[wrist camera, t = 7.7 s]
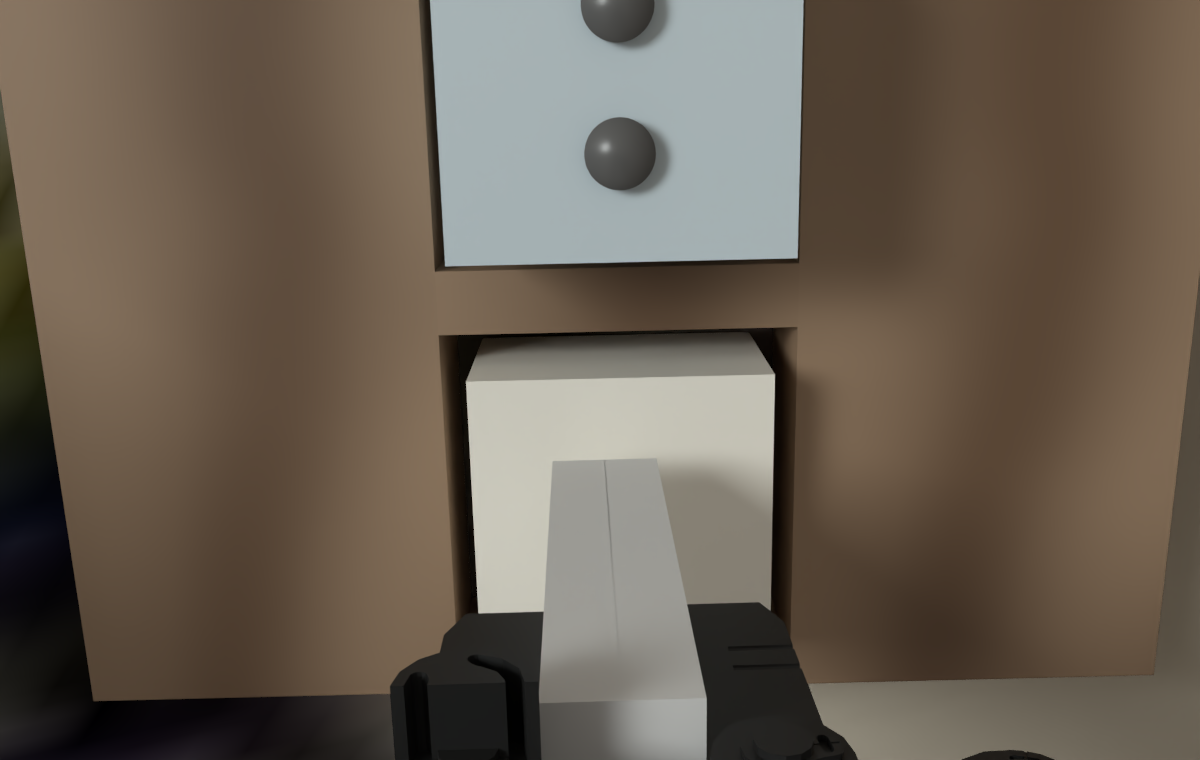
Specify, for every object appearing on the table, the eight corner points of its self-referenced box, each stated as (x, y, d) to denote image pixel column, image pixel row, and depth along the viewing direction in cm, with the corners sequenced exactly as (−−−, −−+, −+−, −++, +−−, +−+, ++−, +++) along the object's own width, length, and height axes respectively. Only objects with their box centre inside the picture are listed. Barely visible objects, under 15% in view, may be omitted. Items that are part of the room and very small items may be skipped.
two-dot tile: (467, 235, 18) (443, 268, 15) (451, -82, 17) (420, -117, 14) (764, 229, 18) (800, 260, 15) (769, -89, 17) (809, -124, 14)
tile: (495, 582, 21) (479, 667, 18) (483, 337, 20) (464, 385, 17) (745, 576, 21) (771, 659, 18) (748, 331, 20) (777, 377, 17)
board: (146, 634, 22) (93, 700, 19) (-26, -624, 17) (-126, -737, 14) (1093, 610, 22) (1153, 675, 20) (1217, -647, 17) (1319, -764, 14)
